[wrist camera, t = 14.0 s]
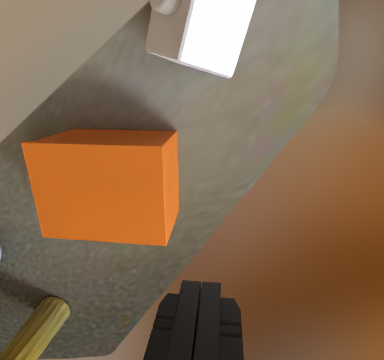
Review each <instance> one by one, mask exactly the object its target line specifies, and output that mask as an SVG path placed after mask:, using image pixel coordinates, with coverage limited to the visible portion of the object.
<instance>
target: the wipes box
mask: <svg viewBox="0 0 384 360" xmlns="http://www.w3.org/2000/svg"><path fill="white" fill-rule="evenodd" d="M36 141H38V142H75V143H113V144H151V145H164V168H165V192H166V217H167V242H168V239H169V237H170V234H171V231H172V228H173V226H174V223H175V220H176V217H177V215H178V212H179V186H178V139H177V131H160V130H109V129H71V130H68V131H65V132H62V133H58V134H55V135H52V136H49V137H46V138H42V139H39V140H36Z"/></svg>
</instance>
